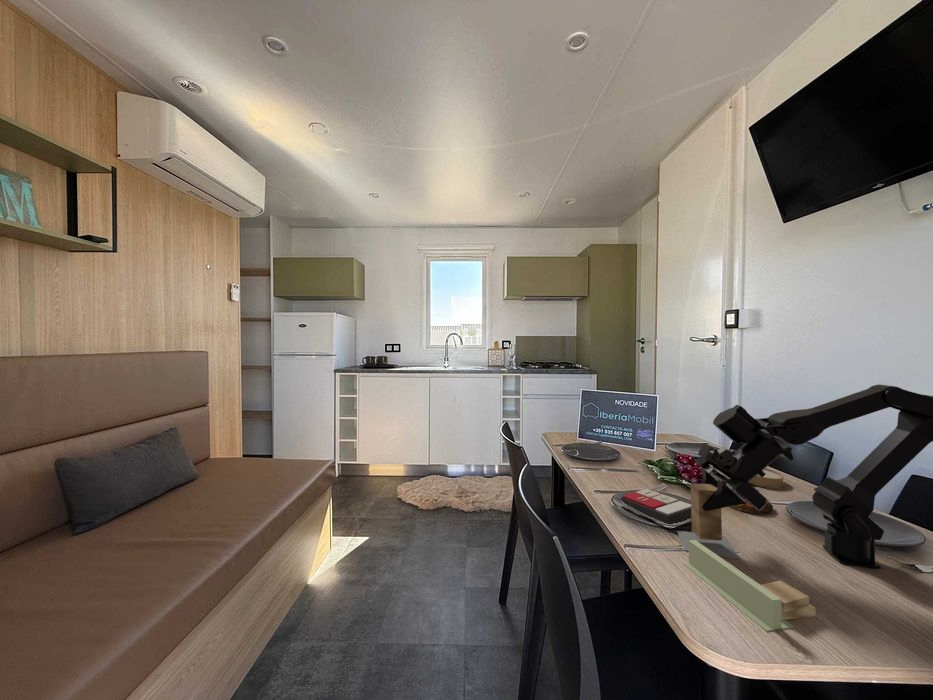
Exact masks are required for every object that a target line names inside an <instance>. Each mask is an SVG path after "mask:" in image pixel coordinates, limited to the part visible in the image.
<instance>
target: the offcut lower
mask: <svg viewBox="0 0 933 700" xmlns="http://www.w3.org/2000/svg"><path fill="white" fill-rule="evenodd" d="M816 609H817V608H816V607H815V606H814V605H812V604H810V603H809V606H805V607H801V608H798V609H794V610H790V611H787V612H783V611H782V610H781V620H786V621H787V620H793V619H794V620H795V619H805V618H811V617H813V618H814V617H816V613H817V610H816Z"/></svg>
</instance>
